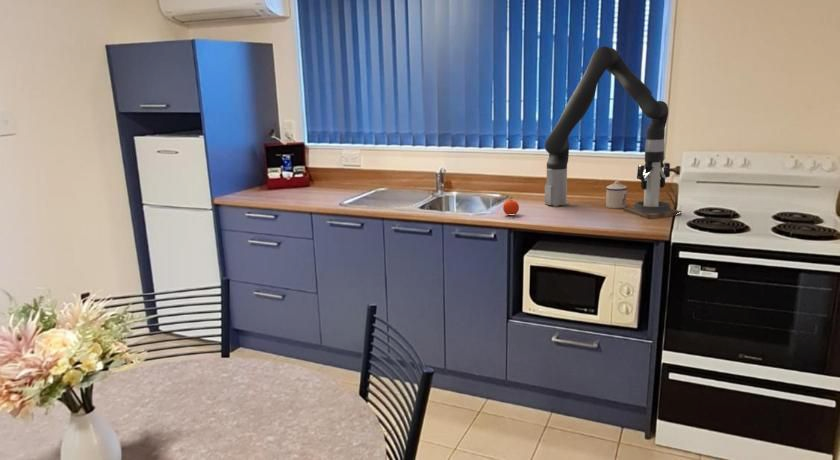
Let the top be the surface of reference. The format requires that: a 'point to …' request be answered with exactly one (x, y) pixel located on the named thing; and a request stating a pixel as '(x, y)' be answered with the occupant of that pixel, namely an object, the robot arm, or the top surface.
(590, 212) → the top surface
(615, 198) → the teacup with lid
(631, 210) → the holder base
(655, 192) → the tall grey block
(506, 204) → the tomato
